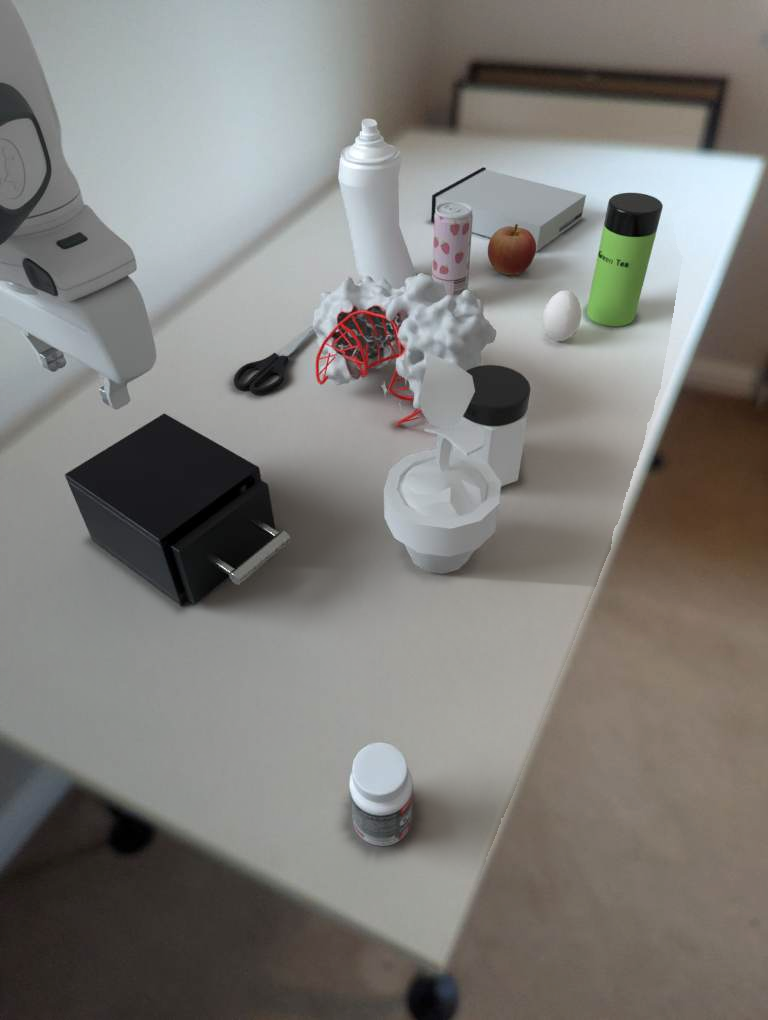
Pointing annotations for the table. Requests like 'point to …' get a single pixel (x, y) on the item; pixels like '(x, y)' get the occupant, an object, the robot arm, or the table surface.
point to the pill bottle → (381, 794)
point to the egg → (562, 316)
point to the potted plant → (443, 478)
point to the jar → (499, 418)
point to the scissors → (270, 367)
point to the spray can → (374, 207)
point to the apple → (511, 250)
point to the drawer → (228, 542)
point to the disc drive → (514, 205)
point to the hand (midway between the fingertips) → (85, 384)
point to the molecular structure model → (397, 330)
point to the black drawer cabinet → (155, 495)
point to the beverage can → (452, 246)
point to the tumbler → (623, 258)
